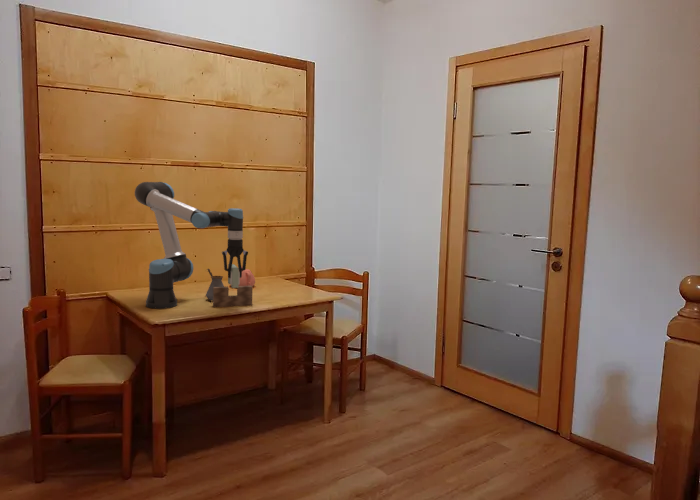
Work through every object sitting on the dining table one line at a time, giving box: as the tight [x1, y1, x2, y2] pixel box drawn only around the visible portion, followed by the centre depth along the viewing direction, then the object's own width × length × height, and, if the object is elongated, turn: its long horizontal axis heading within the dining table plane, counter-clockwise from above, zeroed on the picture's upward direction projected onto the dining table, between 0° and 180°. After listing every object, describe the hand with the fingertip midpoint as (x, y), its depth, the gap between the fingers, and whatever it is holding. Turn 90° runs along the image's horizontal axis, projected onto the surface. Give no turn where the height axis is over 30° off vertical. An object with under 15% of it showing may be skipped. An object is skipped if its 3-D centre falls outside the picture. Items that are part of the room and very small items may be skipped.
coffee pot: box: [205, 268, 225, 302], centre depth 293 cm, size 21×12×15 cm, turn 33°
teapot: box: [229, 268, 256, 287], centre depth 328 cm, size 22×16×12 cm
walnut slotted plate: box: [212, 286, 253, 308], centre depth 278 cm, size 20×3×10 cm, turn 112°
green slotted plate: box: [227, 263, 239, 289], centre depth 276 cm, size 3×14×10 cm, turn 22°
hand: (234, 283), depth 272 cm, fingers closed on green slotted plate, 3 cm apart
